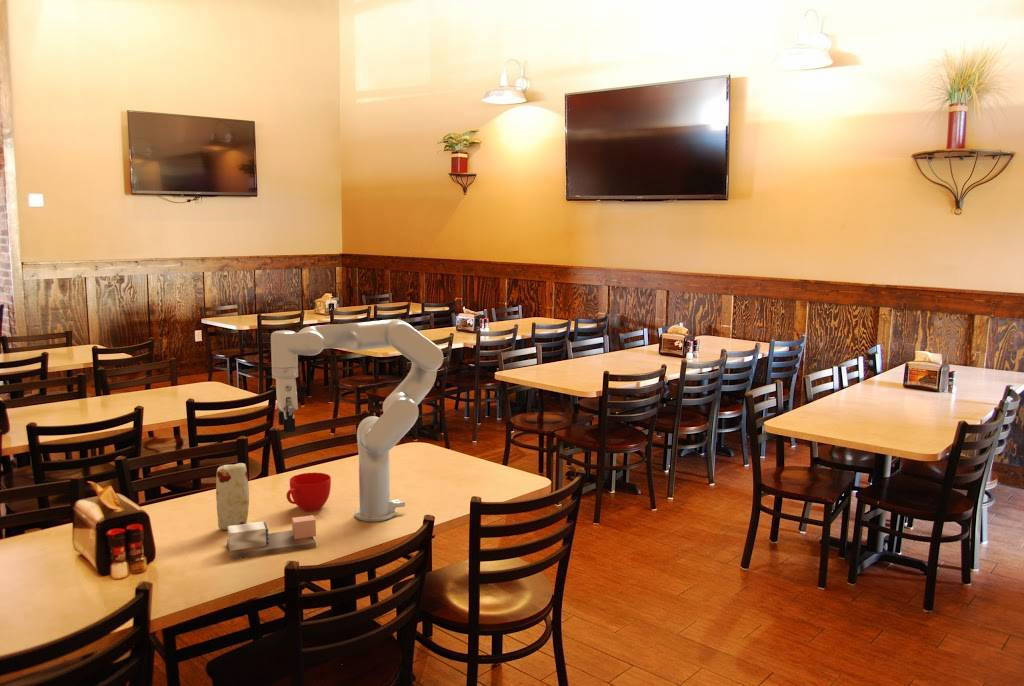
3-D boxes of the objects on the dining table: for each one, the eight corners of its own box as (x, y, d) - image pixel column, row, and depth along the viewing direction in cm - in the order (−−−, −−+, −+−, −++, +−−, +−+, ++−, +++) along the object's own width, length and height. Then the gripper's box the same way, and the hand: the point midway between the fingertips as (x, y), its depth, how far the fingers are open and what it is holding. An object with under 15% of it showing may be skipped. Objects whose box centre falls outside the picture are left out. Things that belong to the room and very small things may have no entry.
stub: (313, 531, 239) (312, 515, 238) (315, 536, 235) (315, 519, 234) (292, 534, 236) (292, 518, 235) (294, 539, 233) (294, 522, 232)
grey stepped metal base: (308, 532, 242) (307, 511, 241) (315, 547, 231) (315, 525, 230) (227, 544, 233) (226, 522, 232) (230, 560, 222) (229, 537, 221)
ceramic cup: (272, 514, 257) (271, 484, 256) (309, 499, 272) (308, 470, 270) (304, 521, 251) (303, 490, 250) (339, 505, 266) (339, 476, 264)
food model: (222, 534, 240) (219, 469, 237) (213, 528, 245) (210, 464, 242) (254, 526, 247) (251, 462, 244) (244, 520, 252) (241, 458, 249)
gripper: (303, 376, 235) (304, 433, 238) (293, 366, 251) (294, 420, 254) (276, 378, 232) (278, 436, 235) (268, 368, 248) (270, 423, 250)
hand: (286, 428), depth 244 cm, fingers open, 9 cm apart
